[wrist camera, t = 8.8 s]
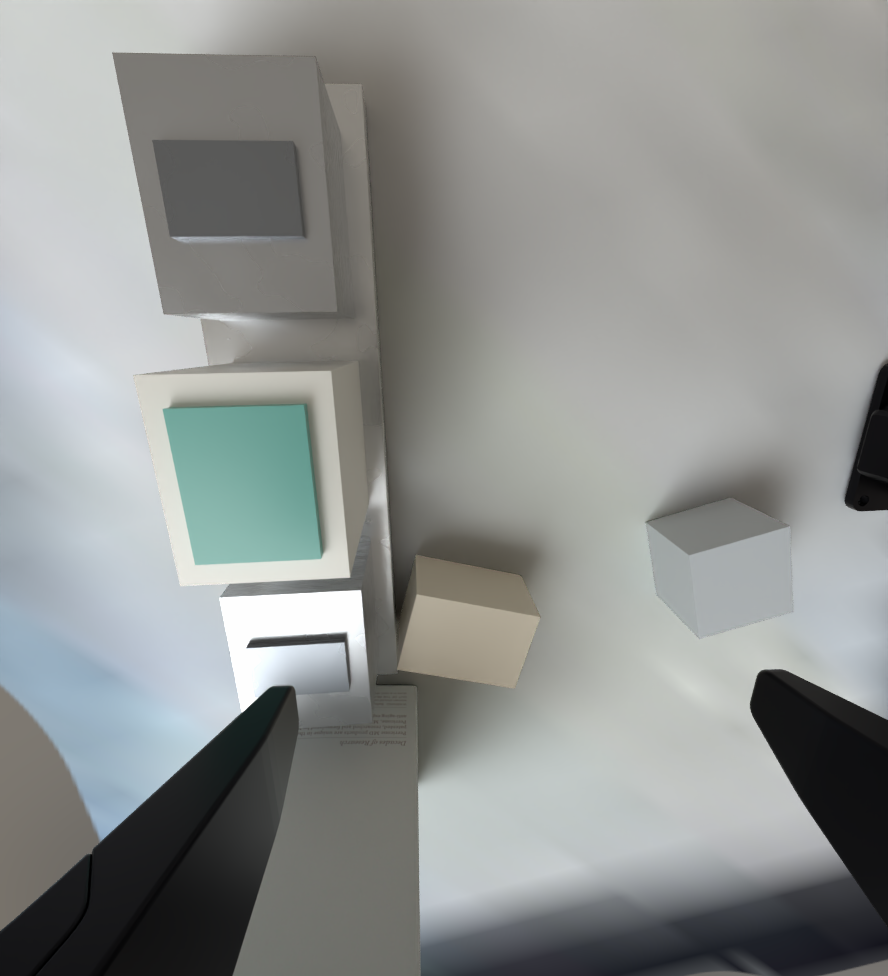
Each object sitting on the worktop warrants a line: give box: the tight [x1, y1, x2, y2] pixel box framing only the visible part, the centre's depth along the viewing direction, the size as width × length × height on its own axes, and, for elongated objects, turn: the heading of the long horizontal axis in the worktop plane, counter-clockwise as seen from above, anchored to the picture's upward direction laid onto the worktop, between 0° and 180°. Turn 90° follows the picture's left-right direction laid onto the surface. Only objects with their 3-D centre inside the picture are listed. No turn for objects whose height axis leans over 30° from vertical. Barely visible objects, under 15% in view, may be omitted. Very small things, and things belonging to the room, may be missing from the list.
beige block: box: [397, 555, 541, 688], centre depth 20 cm, size 5×4×4 cm
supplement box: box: [233, 685, 420, 976], centre depth 17 cm, size 7×7×13 cm
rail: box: [113, 53, 398, 728], centre depth 16 cm, size 6×22×6 cm, turn 1°
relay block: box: [646, 497, 793, 639], centre depth 20 cm, size 4×4×4 cm
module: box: [133, 361, 369, 586], centre depth 14 cm, size 4×6×6 cm
